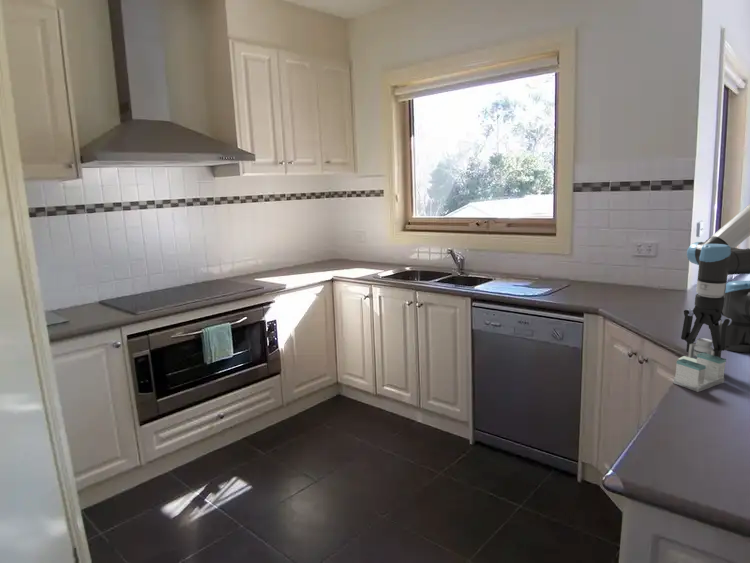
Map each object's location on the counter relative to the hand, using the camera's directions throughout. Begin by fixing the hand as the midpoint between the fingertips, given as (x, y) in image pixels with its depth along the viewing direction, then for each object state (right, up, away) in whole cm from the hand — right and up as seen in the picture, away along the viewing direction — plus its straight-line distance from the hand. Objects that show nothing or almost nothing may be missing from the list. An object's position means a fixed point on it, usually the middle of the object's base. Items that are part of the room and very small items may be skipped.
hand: (701, 366), depth 164 cm
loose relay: (-6, -1, -3) cm, 7 cm away
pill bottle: (0, 0, 0) cm, 1 cm away
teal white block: (-8, -3, -12) cm, 15 cm away
